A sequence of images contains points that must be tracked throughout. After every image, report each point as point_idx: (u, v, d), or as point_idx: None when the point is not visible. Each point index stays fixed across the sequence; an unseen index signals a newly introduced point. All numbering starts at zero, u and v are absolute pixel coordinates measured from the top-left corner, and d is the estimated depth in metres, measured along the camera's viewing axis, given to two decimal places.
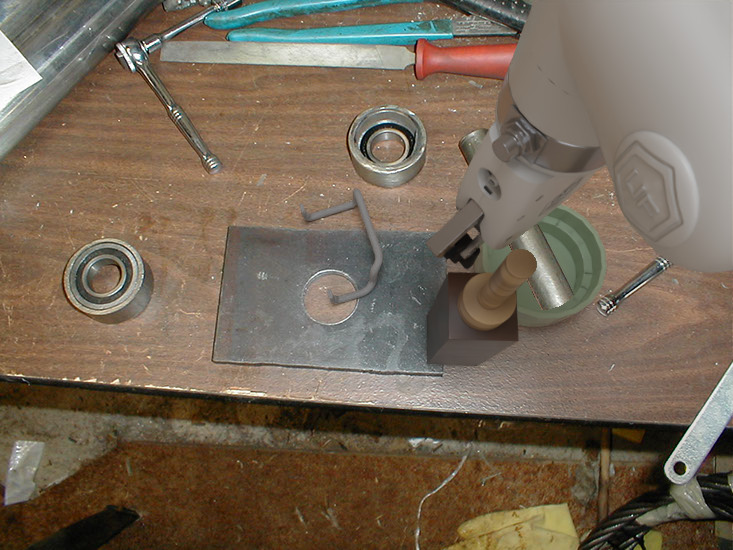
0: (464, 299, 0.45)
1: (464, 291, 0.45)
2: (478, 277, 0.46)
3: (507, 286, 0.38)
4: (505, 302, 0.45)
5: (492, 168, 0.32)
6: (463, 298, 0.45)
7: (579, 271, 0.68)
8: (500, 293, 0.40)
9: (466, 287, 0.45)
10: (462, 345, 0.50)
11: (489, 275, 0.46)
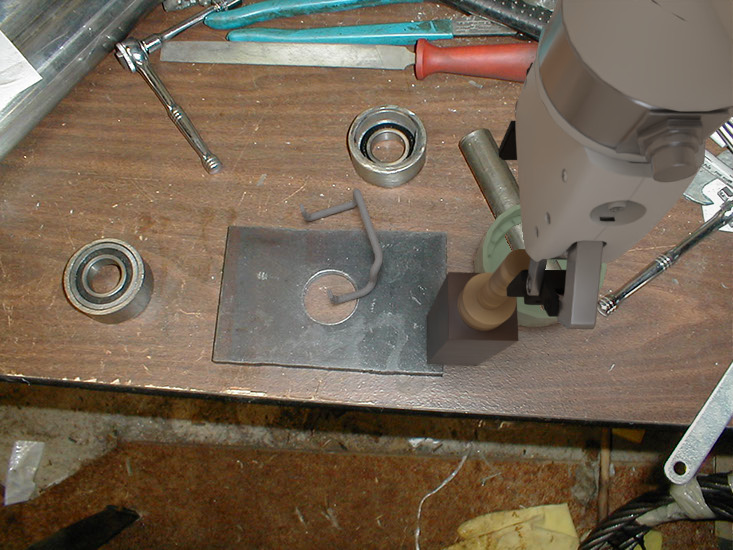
0: (464, 299, 0.45)
1: (464, 291, 0.45)
2: (478, 277, 0.46)
3: (507, 286, 0.38)
4: (505, 302, 0.45)
5: (622, 196, 0.21)
6: (463, 298, 0.45)
7: None
8: (500, 293, 0.40)
9: (466, 287, 0.45)
10: (462, 345, 0.50)
11: (489, 275, 0.46)
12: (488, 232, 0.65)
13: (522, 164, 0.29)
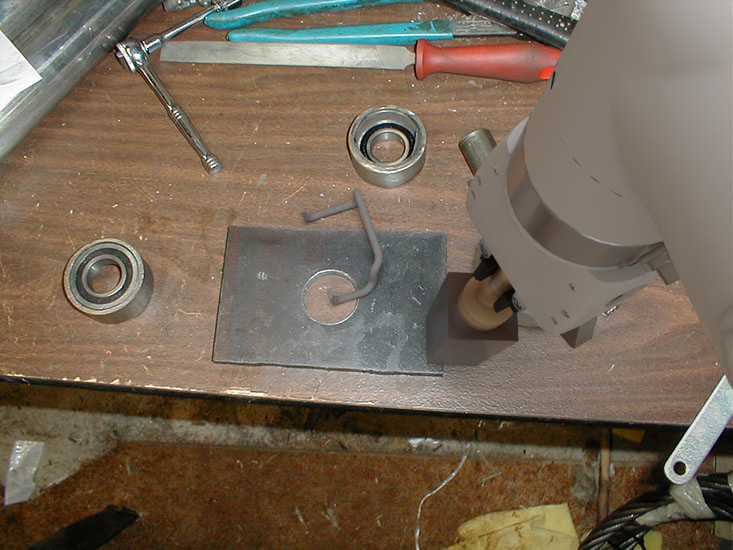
0: (464, 299, 0.45)
1: (464, 291, 0.45)
2: None
3: (507, 286, 0.38)
4: None
5: (631, 287, 0.24)
6: (463, 298, 0.45)
7: None
8: (500, 293, 0.40)
9: (466, 287, 0.45)
10: (462, 345, 0.50)
11: None
12: None
13: (505, 262, 0.31)
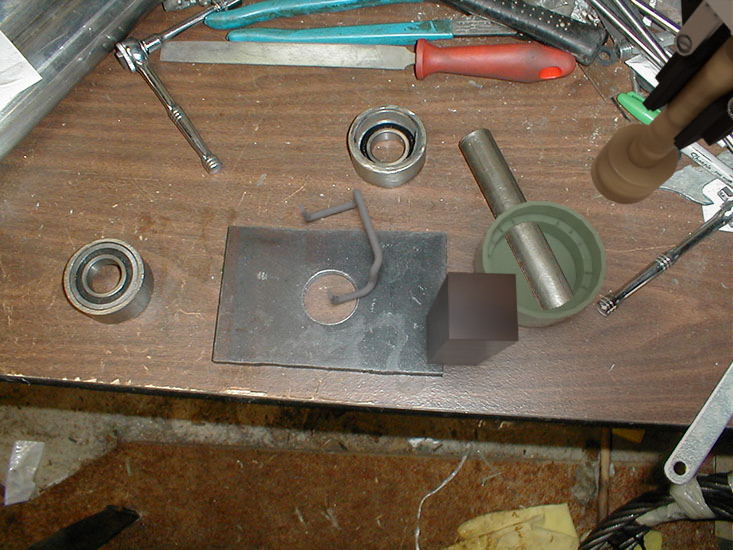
0: (610, 156, 0.35)
1: (610, 146, 0.35)
2: (626, 129, 0.35)
3: (710, 99, 0.27)
4: (664, 159, 0.35)
5: None
6: (609, 155, 0.35)
7: (579, 271, 0.68)
8: (686, 121, 0.29)
9: (612, 141, 0.35)
10: (462, 345, 0.50)
11: (640, 127, 0.35)
12: (488, 232, 0.65)
13: None
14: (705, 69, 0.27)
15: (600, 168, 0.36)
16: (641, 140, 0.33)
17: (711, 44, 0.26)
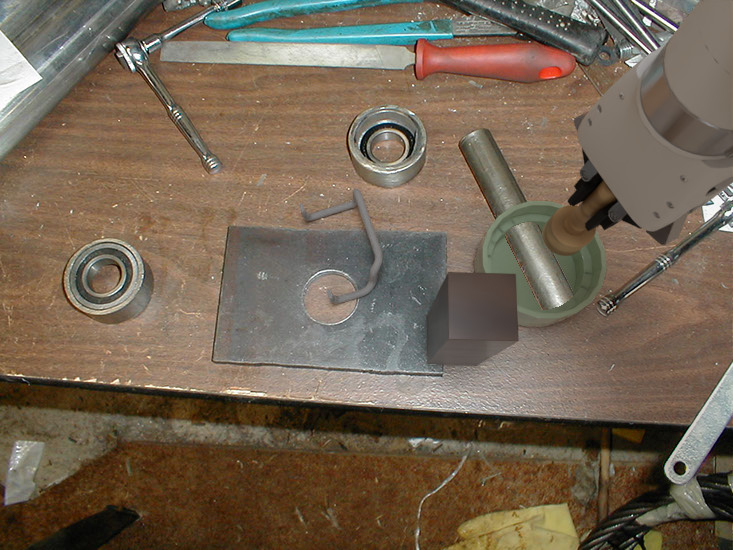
0: (552, 226, 0.54)
1: (552, 220, 0.54)
2: (563, 209, 0.55)
3: (601, 205, 0.47)
4: (586, 229, 0.54)
5: (729, 176, 0.34)
6: (551, 226, 0.54)
7: (579, 271, 0.68)
8: (592, 214, 0.49)
9: (554, 217, 0.54)
10: (462, 345, 0.50)
11: (572, 207, 0.55)
12: (488, 232, 0.65)
13: (614, 174, 0.40)
14: (597, 189, 0.46)
15: (547, 233, 0.55)
16: (570, 219, 0.52)
17: (600, 176, 0.46)
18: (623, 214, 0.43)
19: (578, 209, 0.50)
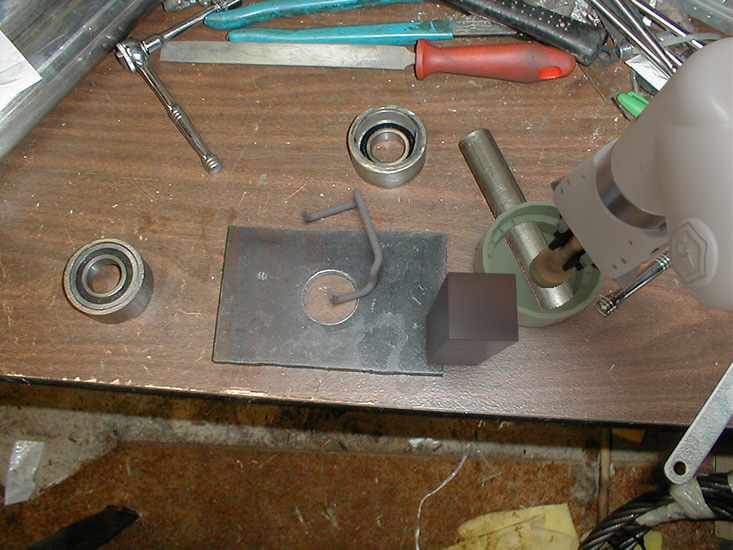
0: (536, 265, 0.64)
1: (536, 260, 0.64)
2: (546, 250, 0.64)
3: (575, 252, 0.56)
4: None
5: (665, 242, 0.43)
6: (536, 264, 0.64)
7: (579, 271, 0.68)
8: (568, 258, 0.58)
9: (537, 257, 0.64)
10: (462, 345, 0.50)
11: None
12: (488, 232, 0.65)
13: (582, 233, 0.50)
14: (571, 239, 0.56)
15: (532, 270, 0.65)
16: (550, 260, 0.62)
17: None
18: (591, 262, 0.53)
19: (557, 253, 0.60)
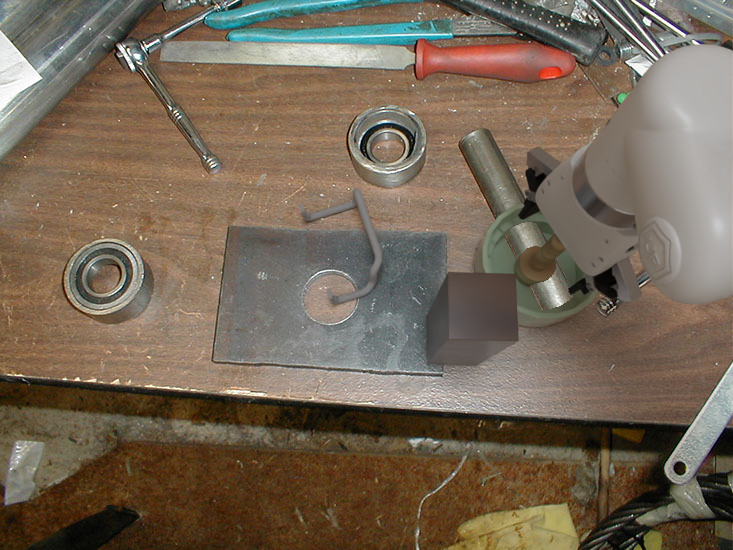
0: (520, 264, 0.66)
1: (520, 258, 0.66)
2: (530, 249, 0.67)
3: (555, 251, 0.59)
4: (548, 266, 0.66)
5: None
6: (519, 263, 0.66)
7: (579, 271, 0.68)
8: (549, 257, 0.61)
9: (521, 256, 0.66)
10: (462, 345, 0.50)
11: (537, 248, 0.67)
12: (488, 232, 0.65)
13: (562, 232, 0.52)
14: (551, 239, 0.58)
15: (516, 268, 0.67)
16: (533, 259, 0.64)
17: None
18: (592, 279, 0.53)
19: (539, 252, 0.62)
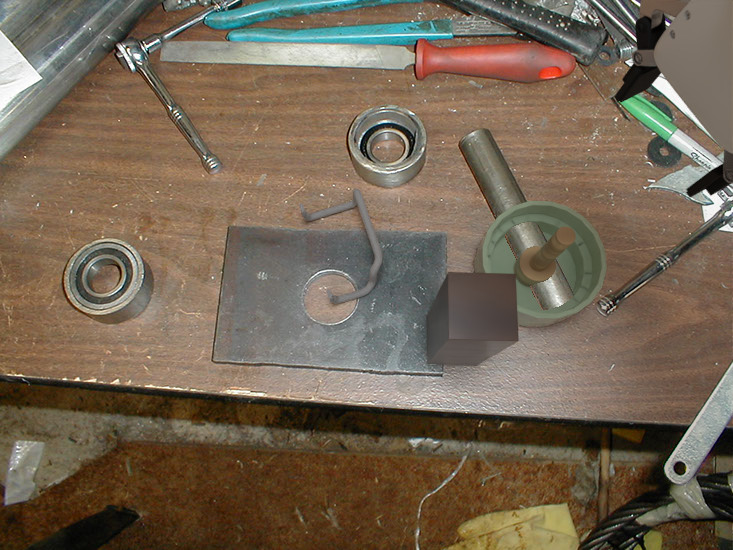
0: (520, 264, 0.66)
1: (520, 258, 0.66)
2: (530, 249, 0.67)
3: (555, 251, 0.59)
4: (548, 266, 0.66)
5: None
6: (519, 263, 0.66)
7: (579, 271, 0.68)
8: (549, 257, 0.61)
9: (521, 256, 0.66)
10: (462, 345, 0.50)
11: (537, 248, 0.67)
12: (488, 232, 0.65)
13: (700, 92, 0.37)
14: (551, 239, 0.58)
15: (516, 268, 0.67)
16: (533, 259, 0.64)
17: None
18: None
19: (539, 252, 0.62)
